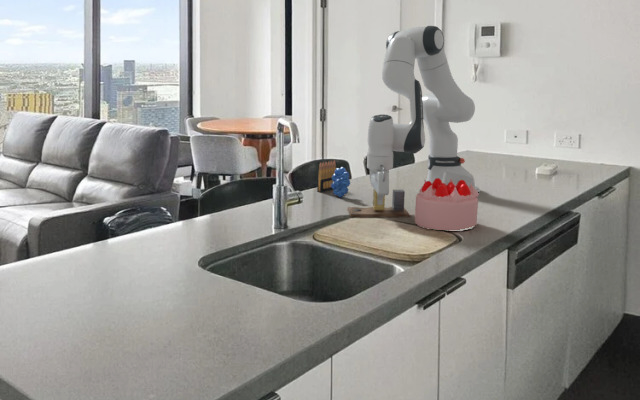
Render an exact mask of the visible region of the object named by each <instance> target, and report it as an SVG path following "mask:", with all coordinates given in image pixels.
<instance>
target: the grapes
mask: <svg viewBox="0 0 640 400" xmlns="http://www.w3.org/2000/svg"><path fill="white" fill-rule="evenodd" d="M334 173H335V174H334V175H333V176H332V180H333V181H334V182H333V183H332V184H331V187H332V188H333V191H332V193H333V195H334V196H337V197H338V198H339V199H340V198H343V197H344V196H345V195H346V194H348V192H349V188H348V187H349V186H350V185H351V179H350V173H349V172H348V171H347V169H346V168H345V167H343V166H341V167H340V168H339V167H336V170H335V172H334Z"/></svg>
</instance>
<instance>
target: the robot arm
mask: <svg viewBox="0 0 640 400" xmlns="http://www.w3.org/2000/svg"><path fill="white" fill-rule="evenodd" d="M444 36H445V35H444V34H443V32H442V30H441V29H440V28H439V27H438V26H435V25H427V26H416V27H411V28H408V29H403V30H400V31H399V30H398V31H394V32H392V33H391V34H389V36H388V37H387V40H386V43H385V48H386V50H385V54H384V58H383V64H382V70H381V71H382V72H381V76H382V77H381V78H382V80H383V83H384V85H385V86H386V87H387V88H388V89H389V90H390V91H392V92H393V93H396V94H399V95H402V96H403V97H405V98H407V99H408V101H409V106H410V107H409V111H410V112H409V113H410V122H409V123H394V118H393V117H392V116H391V115H388V114H376V115H373V116H371V117H370V118H369V124H368V129H367V145H368V150H367V152H366V154H367V156H366V168H367V169H368V170H369V182H370V185H371V186H372V187H373V189H375V191H376V192H377V195H378V196H377V204H378V205H382V204H383V198H384V195H385V196H388V195H389V194H390V193H389V192H390V174H389V173H390V170H393V167H394V152H404V153H408V154H417V153H418V152H420V151H421V150H423V148H424V147H425V145H426V144H425V143H426V134H425V127H424V122H425V124H426V126H427V130H428V134H429V155H428V156H427V157H428V159H427V177H426V179H425V180H426V181H430V182H431V183H433V181H434V180H435V179H436V178H439V179H441V181H442V183H445V184H446V186H447V184H448V183H449V182H450V179H452V181H453V183H454V184H455V185H457V183H458V182H459V181H460V180H464V181H465V182H466V184H467V185H468V187H470V185H471V183H472V186H473V187H474V188H475V189H476V190H477V191H478V192H479V193H481V189H480V188H479V186H476V183H475V178H474V176H473V174H472V173H471V172H470V171H469V170H467V169H466V168H465V167H464V166H462V164H464V163H465V158H463V157H460V156H458V149H459V148H458V145H459V144H458V143H459V138H458V136H457V134H456V133H455V132H454V131H453V129H451V126H450V123H457V124H458V123H466V122H469V121H470V120H471V119H472V118H473V116H474V114H475V111H476V105H475V102H474V100H473V99H472V98H471V97H469V96H468V95H467V94H465V93H464V92H463V90H462V89H461V88H460V87H459V85H458V84H457V83H456V81H455V79H454V78H453V75H452V73H451V69H450V66H449V63H448V58H447V55H446V53H445V50H444V45H445V37H444ZM415 60H416V61H415ZM415 62H417V66H418V68H419V70H418V71H419V72H420V77H421V79H422V83H423V86H424V87H425V89H426V90H427V91H429V92H431V93H427V94H425V95H423V91H422V85H421V82H420V81H419V80H417V79H416V77H415V73H414V72H415Z"/></svg>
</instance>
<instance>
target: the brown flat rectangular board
mask: <svg viewBox="0 0 640 400" xmlns="http://www.w3.org/2000/svg"><path fill="white" fill-rule="evenodd" d="M347 211H348V215H349V217H350V218H410V213H409V212H408V210H407V208H405V207H404V212H394V211H393V210H392V206H385V207H384V210H374V209H373V206H347Z"/></svg>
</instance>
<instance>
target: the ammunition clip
mask: <svg viewBox="0 0 640 400" xmlns="http://www.w3.org/2000/svg"><path fill="white" fill-rule="evenodd" d="M336 169H337V164H336V159H334V160H328V162H327V161H322V162H321V161H320V162H319V166H318V178H317V185H316V186H317V188H316V190H317V191H316V192H318V193H324V192H328V191H332V190H333V191H334V189H333V188H332V187H331V184H332V183H333V182H334V181H333V180H332V176H333V175H334V174H335V173H334V172H335V170H336Z"/></svg>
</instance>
